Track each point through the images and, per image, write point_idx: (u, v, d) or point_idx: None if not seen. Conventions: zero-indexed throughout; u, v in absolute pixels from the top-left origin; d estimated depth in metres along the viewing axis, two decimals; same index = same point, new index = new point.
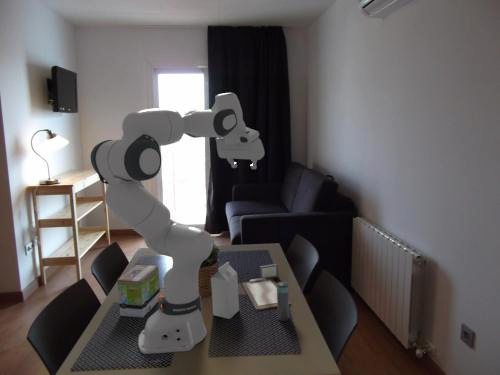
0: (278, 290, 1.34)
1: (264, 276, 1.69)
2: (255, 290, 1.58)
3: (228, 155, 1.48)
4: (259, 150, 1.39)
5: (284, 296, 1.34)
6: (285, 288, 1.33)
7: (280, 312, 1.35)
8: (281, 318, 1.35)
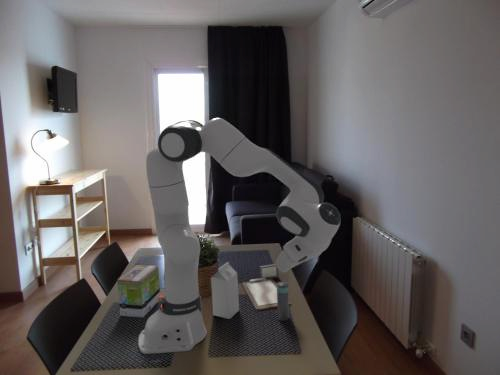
0: (278, 290, 1.34)
1: (264, 276, 1.69)
2: (255, 290, 1.58)
3: None
4: (279, 261, 1.18)
5: (284, 296, 1.34)
6: (285, 288, 1.33)
7: (280, 312, 1.35)
8: (281, 318, 1.35)
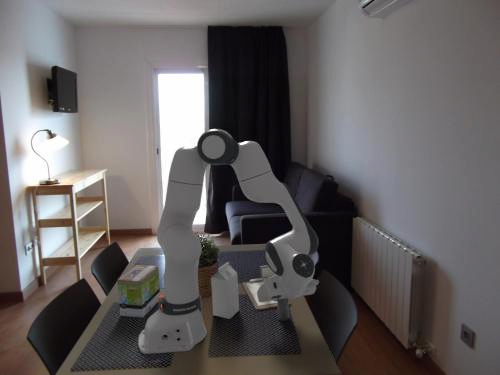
0: None
1: (264, 276, 1.69)
2: (255, 290, 1.58)
3: None
4: (258, 291, 1.28)
5: None
6: None
7: (280, 312, 1.35)
8: (281, 318, 1.35)
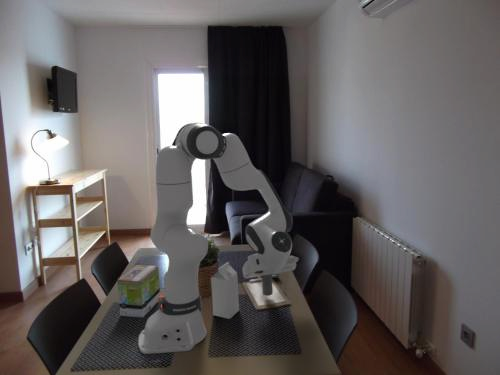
0: None
1: None
2: (255, 290, 1.58)
3: None
4: (243, 268, 1.40)
5: None
6: None
7: (264, 287, 1.48)
8: (265, 293, 1.48)
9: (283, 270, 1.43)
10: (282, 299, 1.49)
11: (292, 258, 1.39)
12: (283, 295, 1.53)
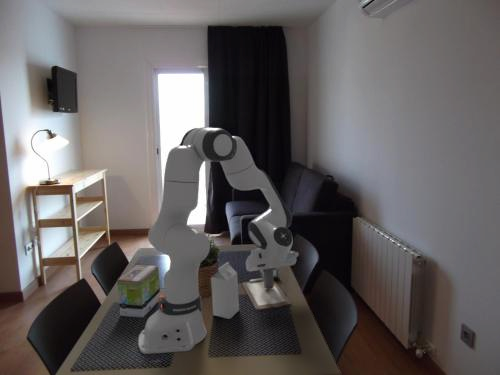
0: None
1: None
2: (255, 290, 1.58)
3: None
4: (246, 261, 1.49)
5: None
6: None
7: (266, 281, 1.56)
8: (267, 286, 1.56)
9: (284, 264, 1.52)
10: (282, 299, 1.49)
11: (293, 253, 1.48)
12: (283, 295, 1.53)
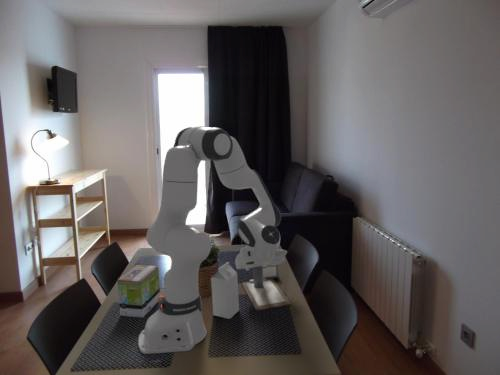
0: None
1: (264, 276, 1.69)
2: (255, 290, 1.58)
3: None
4: (236, 259, 1.52)
5: (259, 267, 1.58)
6: None
7: (255, 281, 1.59)
8: (256, 286, 1.59)
9: (273, 262, 1.55)
10: (282, 299, 1.49)
11: (281, 251, 1.51)
12: (283, 295, 1.53)
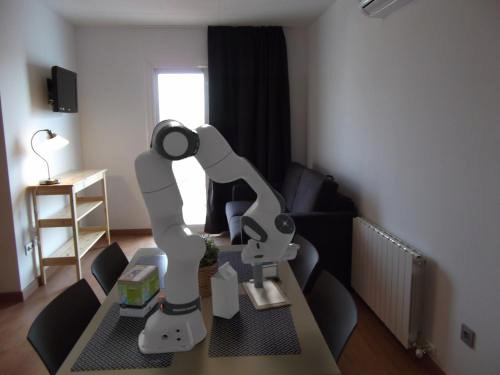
0: None
1: (264, 276, 1.69)
2: (255, 290, 1.58)
3: None
4: (242, 252, 1.36)
5: (259, 267, 1.58)
6: None
7: (255, 281, 1.59)
8: (256, 286, 1.59)
9: (283, 258, 1.39)
10: (282, 299, 1.49)
11: (293, 245, 1.36)
12: (283, 295, 1.53)
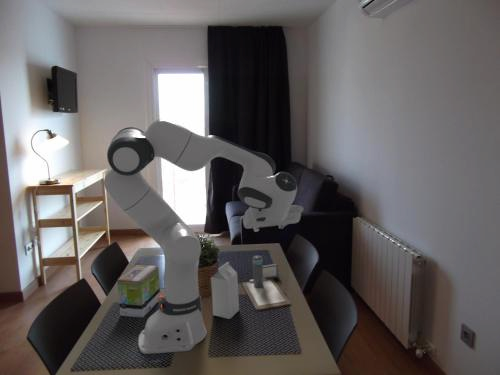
0: (253, 261, 1.58)
1: (264, 276, 1.69)
2: (255, 290, 1.58)
3: None
4: (244, 217, 1.31)
5: (259, 267, 1.58)
6: (259, 260, 1.57)
7: (255, 281, 1.59)
8: (256, 286, 1.59)
9: (287, 221, 1.34)
10: (282, 299, 1.49)
11: (297, 207, 1.30)
12: (283, 295, 1.53)
